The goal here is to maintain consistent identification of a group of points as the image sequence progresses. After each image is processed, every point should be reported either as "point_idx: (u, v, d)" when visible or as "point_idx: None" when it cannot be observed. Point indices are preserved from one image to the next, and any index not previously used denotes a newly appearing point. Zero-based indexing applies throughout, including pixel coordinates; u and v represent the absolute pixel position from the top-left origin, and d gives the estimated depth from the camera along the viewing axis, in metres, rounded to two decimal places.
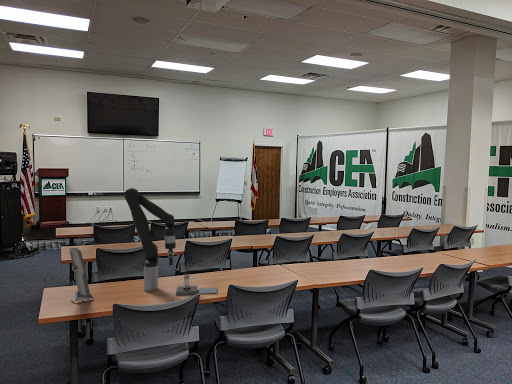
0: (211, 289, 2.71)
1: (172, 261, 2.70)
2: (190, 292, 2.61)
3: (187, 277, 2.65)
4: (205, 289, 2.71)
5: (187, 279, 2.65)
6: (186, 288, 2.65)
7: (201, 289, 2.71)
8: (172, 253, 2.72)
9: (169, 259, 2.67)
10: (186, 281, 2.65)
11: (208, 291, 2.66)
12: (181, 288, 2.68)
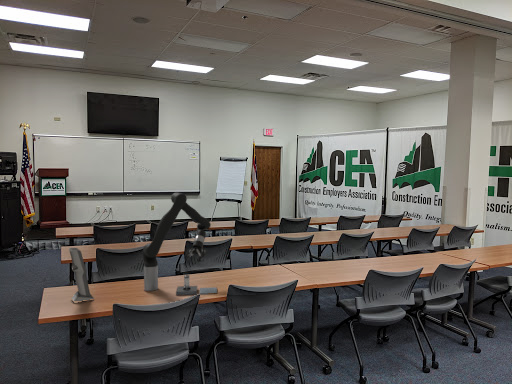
0: (211, 289, 2.71)
1: None
2: (190, 292, 2.61)
3: (187, 277, 2.65)
4: (205, 289, 2.71)
5: (187, 279, 2.65)
6: (186, 288, 2.65)
7: (201, 289, 2.71)
8: (199, 252, 2.83)
9: (203, 255, 2.78)
10: (186, 281, 2.65)
11: (208, 291, 2.66)
12: (181, 288, 2.68)
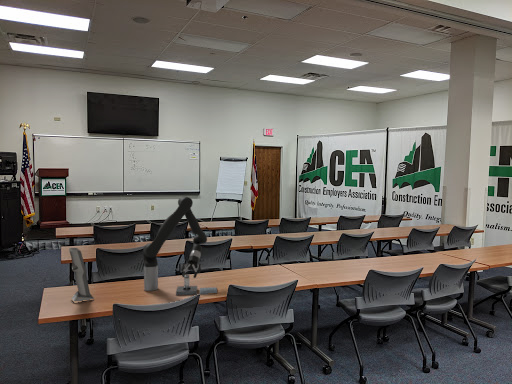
0: (211, 289, 2.71)
1: None
2: (190, 292, 2.61)
3: (187, 277, 2.65)
4: (205, 289, 2.71)
5: (187, 279, 2.65)
6: (186, 288, 2.65)
7: (201, 289, 2.71)
8: (195, 268, 2.75)
9: (199, 271, 2.71)
10: (186, 281, 2.65)
11: (208, 291, 2.66)
12: (181, 288, 2.68)
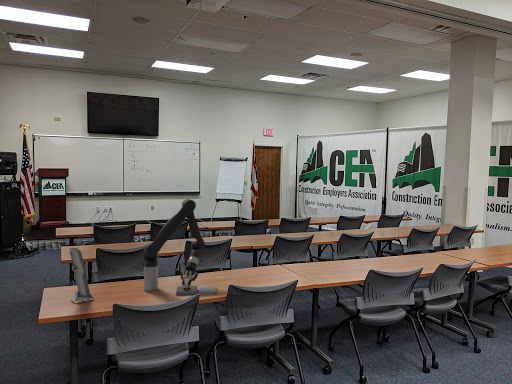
0: (211, 289, 2.71)
1: None
2: (190, 292, 2.61)
3: (187, 277, 2.65)
4: (205, 289, 2.71)
5: (187, 279, 2.65)
6: (186, 288, 2.65)
7: (201, 289, 2.71)
8: None
9: (193, 279, 2.66)
10: (186, 281, 2.65)
11: (208, 291, 2.66)
12: (181, 288, 2.68)
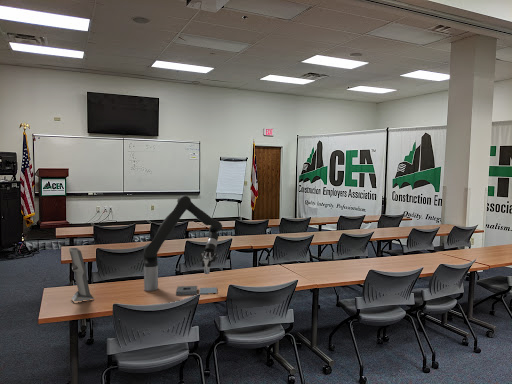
0: (211, 289, 2.71)
1: None
2: (190, 292, 2.61)
3: (207, 258, 2.66)
4: (205, 289, 2.71)
5: (207, 260, 2.66)
6: (206, 269, 2.66)
7: (201, 289, 2.71)
8: (211, 257, 2.72)
9: (213, 260, 2.67)
10: (206, 262, 2.66)
11: (208, 291, 2.66)
12: (181, 288, 2.68)
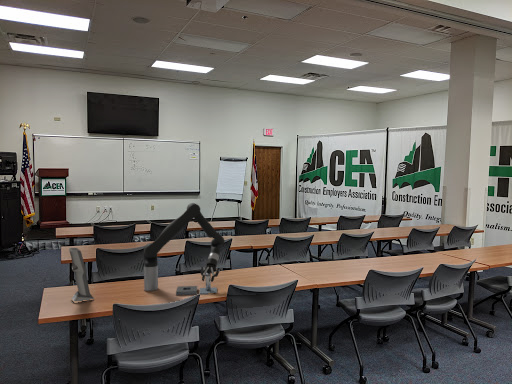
0: (211, 289, 2.71)
1: None
2: (190, 292, 2.61)
3: (208, 275, 2.67)
4: (205, 289, 2.71)
5: (208, 277, 2.67)
6: (207, 286, 2.67)
7: (201, 289, 2.71)
8: (213, 271, 2.73)
9: (216, 275, 2.68)
10: (207, 279, 2.67)
11: (208, 291, 2.66)
12: (181, 288, 2.68)
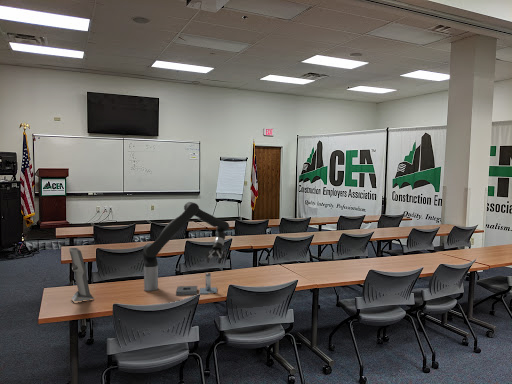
0: (211, 289, 2.71)
1: (220, 260, 2.81)
2: (190, 292, 2.61)
3: (208, 275, 2.67)
4: (205, 289, 2.71)
5: (208, 277, 2.67)
6: (207, 286, 2.67)
7: (201, 289, 2.71)
8: (219, 254, 2.85)
9: (223, 257, 2.80)
10: (207, 279, 2.67)
11: (208, 291, 2.66)
12: (181, 288, 2.68)
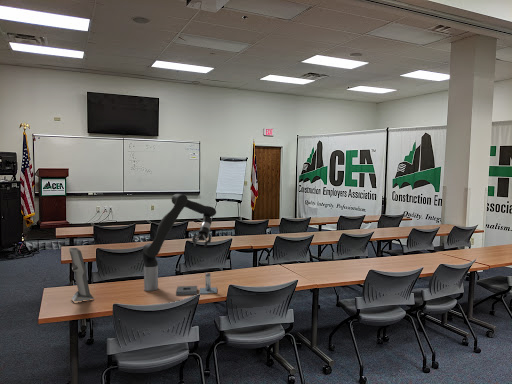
0: (211, 289, 2.71)
1: (206, 244, 2.86)
2: (190, 292, 2.61)
3: (208, 275, 2.67)
4: (205, 289, 2.71)
5: (208, 277, 2.67)
6: (207, 286, 2.67)
7: (201, 289, 2.71)
8: None
9: (209, 240, 2.86)
10: (207, 279, 2.67)
11: (208, 291, 2.66)
12: (181, 288, 2.68)
